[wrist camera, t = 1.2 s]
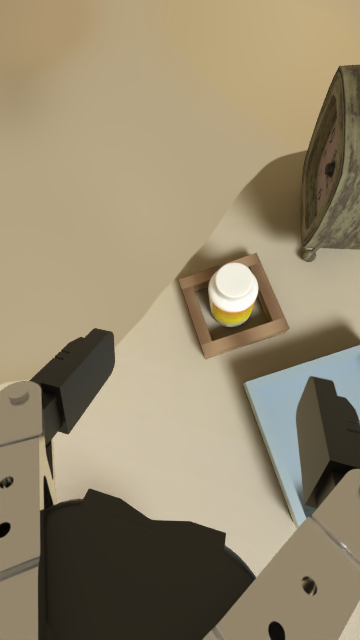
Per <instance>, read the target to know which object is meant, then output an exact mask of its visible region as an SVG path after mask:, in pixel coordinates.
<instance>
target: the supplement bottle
mask: <svg viewBox="0 0 360 640" xmlns="http://www.w3.org/2000/svg"><path fill="white" fill-rule="evenodd" d="M208 292H209V301H210V309H211V313H212V316H213V318H214V319H215V320H216V321H217V322H218V323H219V324H221V325H223V326H226V327H236V326H240V325H242V324H243V323H245V322H246V321H247V320H248V318H249V317H250V315H251V312H252V309H253V306H254V303H255V301H256V298H257V295H258V282H257V280H256V278H255V276H254V275H253V274H252V272H251V271H250V269H249V268H248V267H246V266H245V265H243V264H241V263H228V264H226V265H224V266H222V267H221V268H220V269H219V270H218V271H217V272H216V273H215V274H214V275H213V276H212V278H211V280H210V282H209V288H208Z"/></svg>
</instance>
